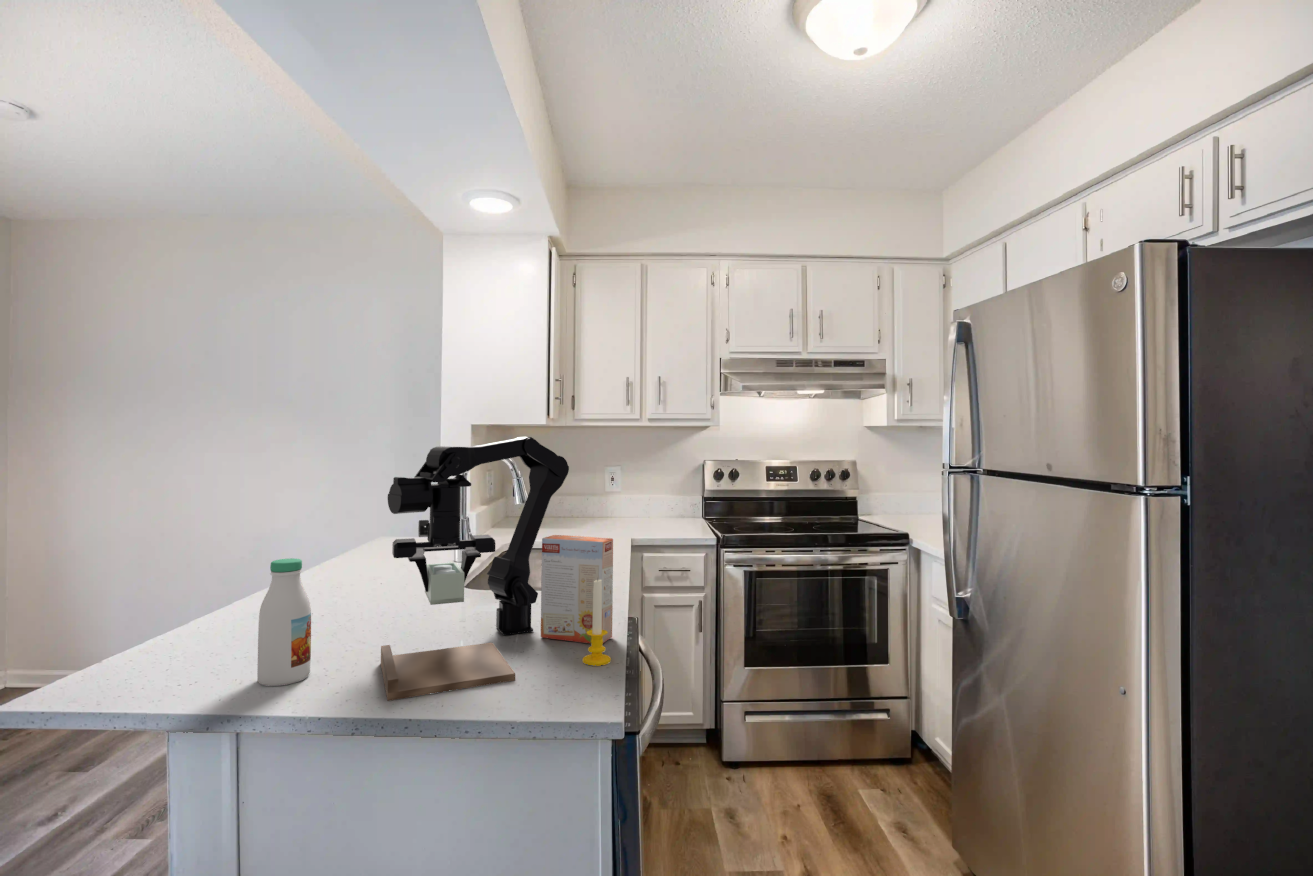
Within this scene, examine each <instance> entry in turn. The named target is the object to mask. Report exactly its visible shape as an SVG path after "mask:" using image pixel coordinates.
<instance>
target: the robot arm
mask: <svg viewBox="0 0 1313 876" xmlns="http://www.w3.org/2000/svg"><path fill="white" fill-rule="evenodd" d="M517 457H519V458H520V460H521V461H522V463H523V465H524V466H526V467H527V468H528V469H529V474H528V481H529V483H528V484H529V492H528V495H527V497H526V500H525V502H524V506H523V508H522V510H521V514H520V516H519V519H518V521H517V523H516V526H515V528H514V531H513V535H512V537H511V539H510V542H509V545H508V547H507V550H506V552H505V553H504V554H503V555H501V557H499V556H494V557H493V559H492V561H491V566H490V568H489V570H488V572H487V573H486V575H487V576H488V578H487V585H488V586H489V589H490V591H491V592H492V593H493V595H494V599H495V600H498V601H499V602H498V608H496V614H495V615H496V618H495V619H496V621H495V622H496V625H495V627H496V629H497V630H498V631H499V632H500V633H501V634H502V636H507V635H516V634H524V633H532V632H533V633H534V628H533V627H532V604H535V603H536V602H537V599H538V595H539V593H538V591H536V589H535V588H533V587H532V585H531V584H529V580H530V575H531V569H530V556H531V553H532V550H533V547H534V545H535V542H536V539H537V536H538V534H539V531H540V528H541V526H542V523H543V520H544V517H545V515H546V512H547V509H548V506H549V504H550V501H551V499H552V497H553V495H554V494H555V493H557V491H559V489H560V488H561V487H562V486H563V484H564V482H565V480H566V479H567V476H568V474H569V471H570V466H569V464H568V461H567V460H566V458H565V457H564V456H561V455H557V453H556V452H554V451H552V450H551V449H549V448H547V446H544V445H542V444H541V443H540V442H539V441H537V440H536V439H535V438H534V437H532V436H517V437H515V438H512V439H511V438H510V439H506V440H500V441H494V442H490V443H484V444H478V445H474V446H473V445H472V446H450V445H449V446H445V445H444V446H442V445H439V446H435V447H432V448H431V449H429V451H428V453H427V456H426V459H425V460H426V461H425V462H424V463H423V465H422V466H421V467H420V468H419V470H418V471H417V473H416V474H415V476H413V477H404V476H394V477H393V479H392V480H393V481H392V482H393V483H392V484H391V485H390V488H389V492H388V494H387V505H388V509H389V510H390V512H391V514H392V515H400V514H411V513H413V514H414V513H424V512H426V511H428V510H427V509H428V508H429V519H421V520H418V528H417V529H418V532H417V533H418V537H419V538H427V541H424V542H423V541H421V542H418V541H416V539H415V538H414V537H413V538H398V539H397V538H396V539H394V540H393V542H392V553H391V554H392V556H393V558H394V559H403V558H405V559H406V558H407V559H408V561H409V562H410V563H414V562H415V564H416V567H417V569H418V571H419V574H420V577H421V581H422V584H423V586H424V592H425V591H426V592H428V574H427V564H428V563H427V558H426V556H425V553H426V552H443V551H444V552H445V551H459V550H461V563H460V564H461V565H460V568H461V569H462V570H463V572H464V584H465V583H466V580H467V577H468V575H469V572H470V570H471V569H472V566H473V565H474V562H475V561H476V559H478V558H481V557H482V554H483V553H484V554H485V553H486V554H487V553H494V552H496V540H495V539H494V537H492V536H491V535H489V534H475V535H471V536H470V539H461V507H462V506H461V505H462V504H461V503H462V501H461V499H462V498H461V496H462V494H461V491H462V488H466V487H467V488H468V487H471V486H472V483H471V482H470V481H469V480H468V479H467V478H466V477H465V475H464V473H467V472H469V471H471V470H472V469H474V468H476V467H479V466H480V465H483V464H489V463H494V462H498V461H499V462H500V461H503V460H504V461H505V460H508V459H512V458H513V459H514V458H517ZM450 477H453V478H450ZM432 483H433V484H432Z"/></svg>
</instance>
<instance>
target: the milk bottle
mask: <svg viewBox="0 0 1313 876" xmlns="http://www.w3.org/2000/svg"><path fill="white" fill-rule="evenodd" d="M302 568H303V560H302V559H301V558H293V557H292V558H290V557H289V558H280V559H276V560H272V561H271V562H270V573H269V574H270V576H271V580H270V581H271V582H270V585H269V588H268V589H267V592H266V594H265V596H264V597H263V600H262V602H261V604H260V608H259V615H258V631H257V633H258V634H257V637H258V638H257V682H258V683H259V685H262V686H265V687H279V686H280V687H281V686H287V685H292V684H295V683H298V682H301V681H303V680H305V679H306V678H308V677H309V675H310V673H311V662H312V660H311V659H312V658H311V656H312V655H311V653H312V652H311V651H312V608H311V607H312V605H311V601H310V597H309V596H308V593H307V591H306V590H305V587H304V586H303V582H302V579H301V573H303V571H302Z"/></svg>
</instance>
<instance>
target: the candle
mask: <svg viewBox="0 0 1313 876" xmlns="http://www.w3.org/2000/svg"><path fill="white" fill-rule="evenodd" d="M607 633H608V632H607V631H606V630H602V580H598V579H597V580H595V581H594V587H593V626H592V630H589V631H587V634H588V635H591V638H592V639H591V644H590V645H591V646H589V647H588V648H587V651H588V652H589V653H590V654H587V655H584V657H582V663H583V664H584V663H585V664H584V665H586V664H588V665H587V666H589V665H593V666H592V667H602V666H601V665H603V666H605V665H608V664H610V663H611V661H612V658H611V656H609V655H608V654H603V653H604V652H606V647H605V646H604V645H603V644H604V643H603V639H602V638H603V635H606V634H607ZM595 665H596V666H595Z"/></svg>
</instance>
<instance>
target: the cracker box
mask: <svg viewBox="0 0 1313 876" xmlns="http://www.w3.org/2000/svg"><path fill="white" fill-rule="evenodd" d="M597 579H598V580H602V630H606V631H607V632H608V633H607V634H606V635H603V638H602V639H603V644H604V643H606V642H607V641H609V640H610V639H611V638H613V603H614V602H613V593H614V591H613V590H614V589H613V588H614V587H613V585H614V584H613V582H614V539H613V538H611V537H609V538H608V537H596V536H584V535H583V536H581V535H564V534H563V535H562V534H552V535H548V536H545V537H543V538H541V582H540V583H541V586H540V587H541V589H540V594H541V595H540V637H541V638H542V639H551V640H559V641H560V640H561V641H566V642H567V641H569V642H575V643H584V644H590V645H591V639H592V638H591V635H588V634H587V631H589V630H592V626H593V587H594V581H595V580H597Z"/></svg>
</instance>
